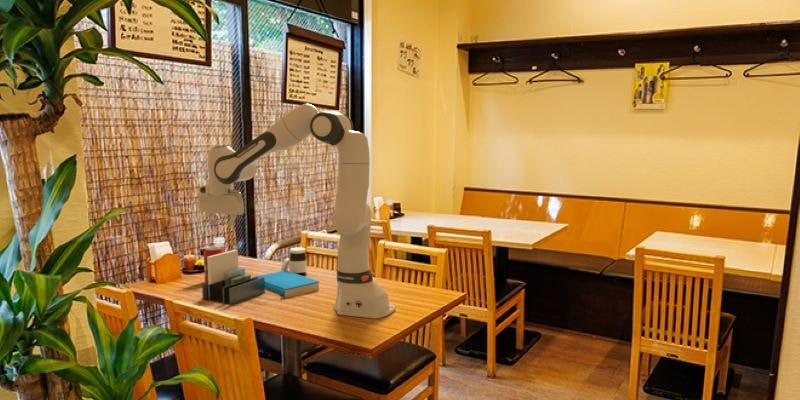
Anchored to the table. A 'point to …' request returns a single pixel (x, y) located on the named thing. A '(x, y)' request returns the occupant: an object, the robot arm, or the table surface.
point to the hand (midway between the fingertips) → (221, 224)
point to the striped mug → (296, 261)
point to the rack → (234, 288)
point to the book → (289, 283)
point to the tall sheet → (221, 265)
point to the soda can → (210, 252)
